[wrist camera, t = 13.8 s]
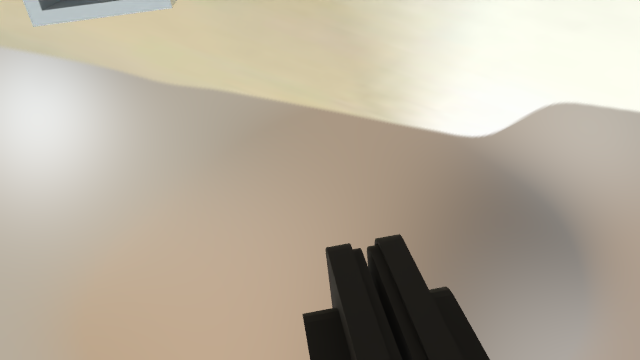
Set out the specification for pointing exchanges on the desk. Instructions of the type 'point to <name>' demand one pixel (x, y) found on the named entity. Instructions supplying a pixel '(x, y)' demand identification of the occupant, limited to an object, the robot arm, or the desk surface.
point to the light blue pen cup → (87, 9)
